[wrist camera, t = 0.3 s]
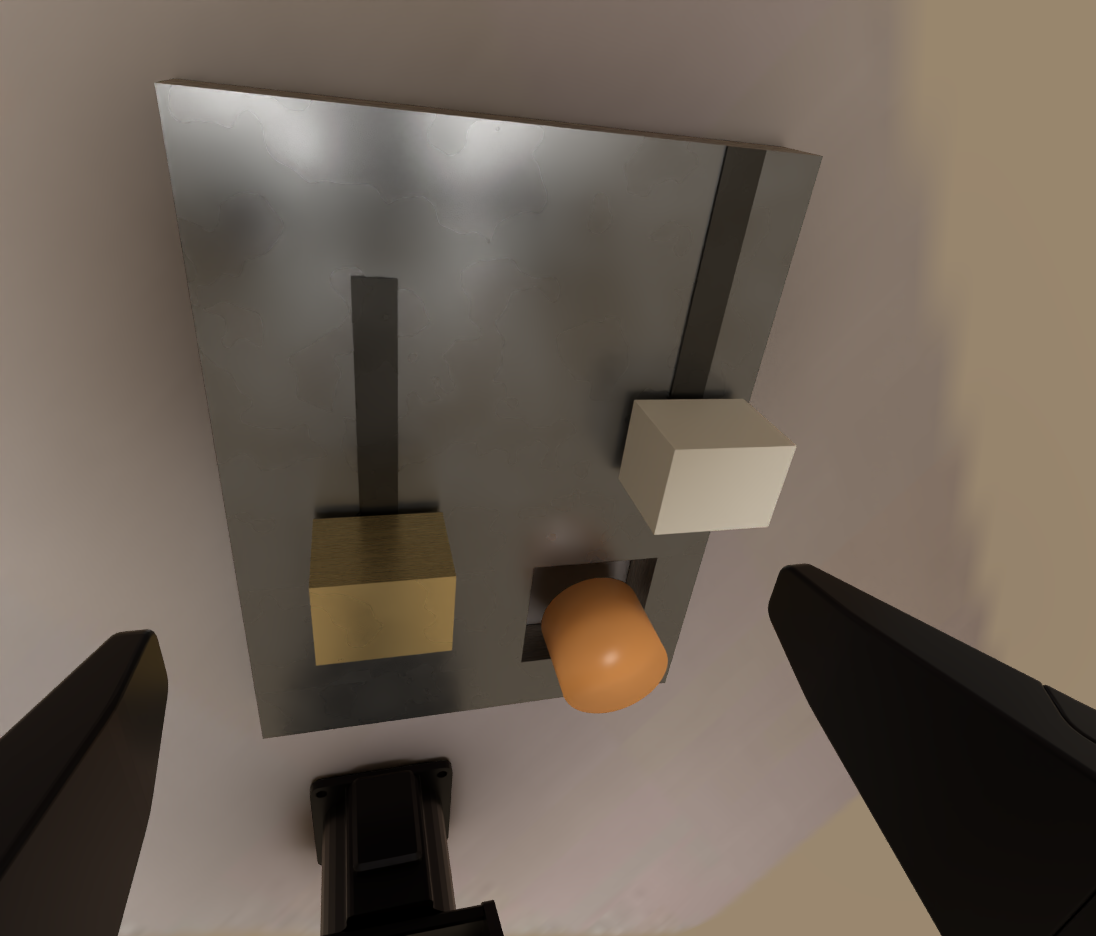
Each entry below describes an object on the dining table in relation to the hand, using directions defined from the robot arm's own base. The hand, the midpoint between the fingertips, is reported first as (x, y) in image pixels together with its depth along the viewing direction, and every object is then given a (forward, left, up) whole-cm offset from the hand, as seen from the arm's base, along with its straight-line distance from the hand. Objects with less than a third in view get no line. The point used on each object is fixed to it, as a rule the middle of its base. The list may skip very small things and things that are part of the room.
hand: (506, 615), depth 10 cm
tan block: (-7, +1, -11) cm, 13 cm away
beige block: (-3, -9, -11) cm, 14 cm away
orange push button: (-11, -7, -11) cm, 17 cm away
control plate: (-5, -3, -13) cm, 15 cm away
